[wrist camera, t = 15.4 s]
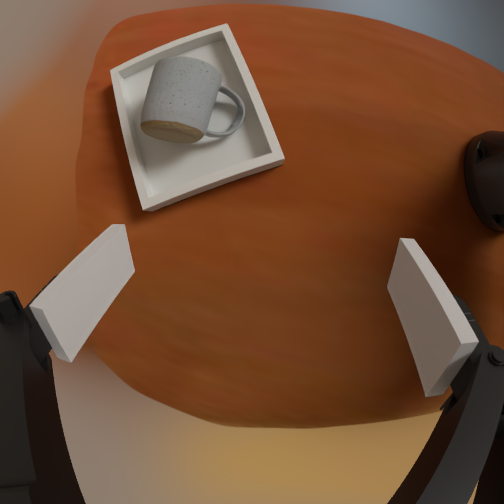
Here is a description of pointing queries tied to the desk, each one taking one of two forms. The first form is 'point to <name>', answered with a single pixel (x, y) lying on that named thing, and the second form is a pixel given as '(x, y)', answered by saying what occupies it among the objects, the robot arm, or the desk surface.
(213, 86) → the ceramic mug
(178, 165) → the tray
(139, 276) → the desk surface
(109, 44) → the desk surface
